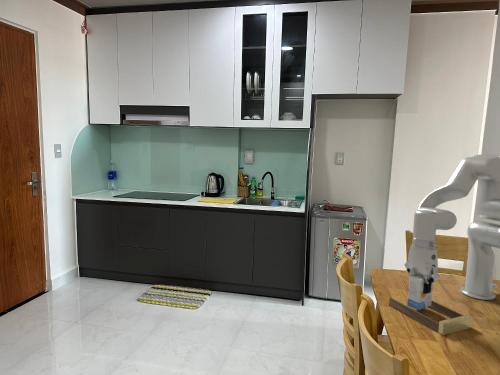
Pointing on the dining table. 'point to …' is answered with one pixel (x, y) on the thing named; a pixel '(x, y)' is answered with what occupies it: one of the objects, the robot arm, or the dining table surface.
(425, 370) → the dining table surface
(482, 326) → the dining table surface
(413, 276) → the ink box
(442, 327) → the slide guide
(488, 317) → the dining table surface
